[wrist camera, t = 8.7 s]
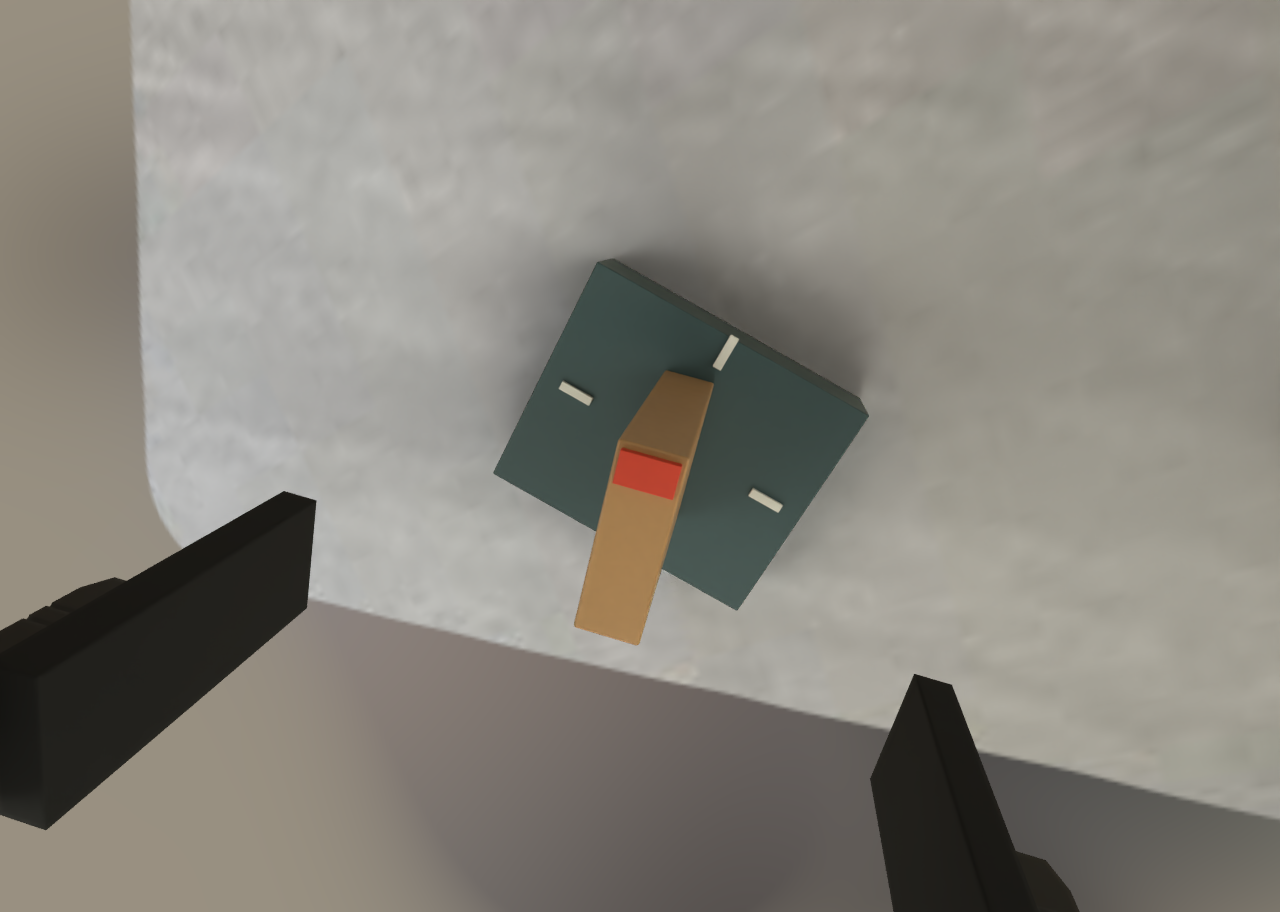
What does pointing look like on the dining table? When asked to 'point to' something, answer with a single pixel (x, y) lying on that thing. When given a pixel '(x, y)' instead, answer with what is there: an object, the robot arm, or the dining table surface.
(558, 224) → the dining table surface
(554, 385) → the panel
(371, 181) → the dining table surface
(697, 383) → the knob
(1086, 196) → the dining table surface
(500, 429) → the dining table surface
